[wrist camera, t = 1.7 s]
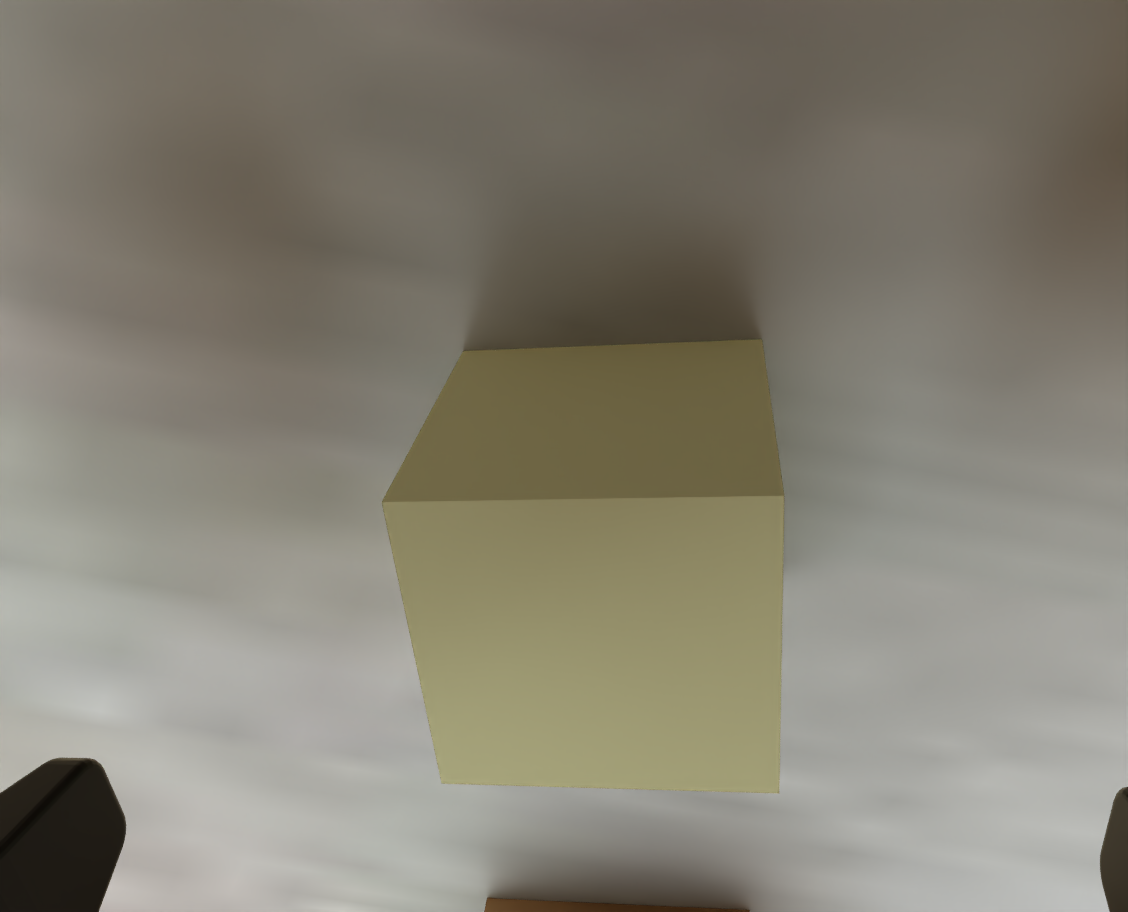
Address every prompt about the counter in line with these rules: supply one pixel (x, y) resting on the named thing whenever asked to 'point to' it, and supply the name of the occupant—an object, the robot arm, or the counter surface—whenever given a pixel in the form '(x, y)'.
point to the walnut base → (584, 907)
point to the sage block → (598, 567)
